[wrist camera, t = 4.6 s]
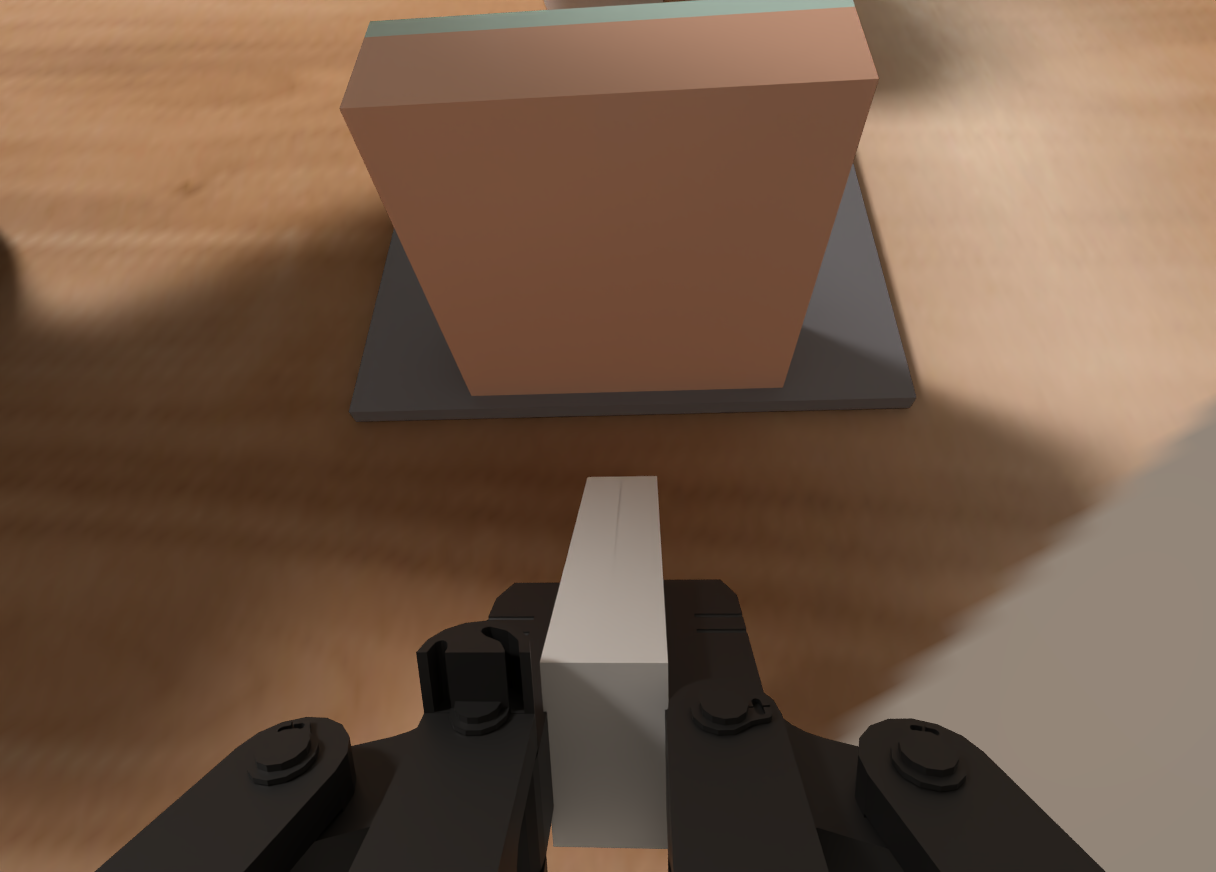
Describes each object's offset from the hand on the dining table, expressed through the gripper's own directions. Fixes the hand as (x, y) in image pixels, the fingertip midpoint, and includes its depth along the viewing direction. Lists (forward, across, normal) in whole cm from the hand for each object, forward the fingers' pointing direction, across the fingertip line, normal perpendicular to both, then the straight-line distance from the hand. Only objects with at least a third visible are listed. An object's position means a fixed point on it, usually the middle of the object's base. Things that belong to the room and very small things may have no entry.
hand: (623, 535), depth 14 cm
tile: (+8, 0, +3) cm, 9 cm away
